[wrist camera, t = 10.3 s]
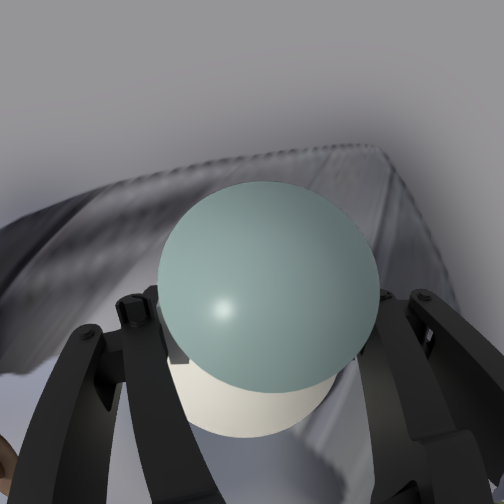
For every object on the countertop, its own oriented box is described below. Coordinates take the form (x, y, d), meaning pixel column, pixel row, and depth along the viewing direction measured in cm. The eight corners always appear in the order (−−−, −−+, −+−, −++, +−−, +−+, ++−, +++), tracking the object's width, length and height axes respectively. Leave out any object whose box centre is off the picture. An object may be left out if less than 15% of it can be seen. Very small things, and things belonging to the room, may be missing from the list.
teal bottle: (202, 381, 16) (152, 391, 5) (203, 295, 19) (170, 181, 8) (294, 378, 17) (392, 376, 6) (288, 294, 19) (356, 186, 9)
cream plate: (149, 429, 17) (144, 432, 15) (155, 251, 23) (152, 245, 22) (341, 423, 18) (347, 425, 17) (326, 252, 24) (330, 246, 23)
